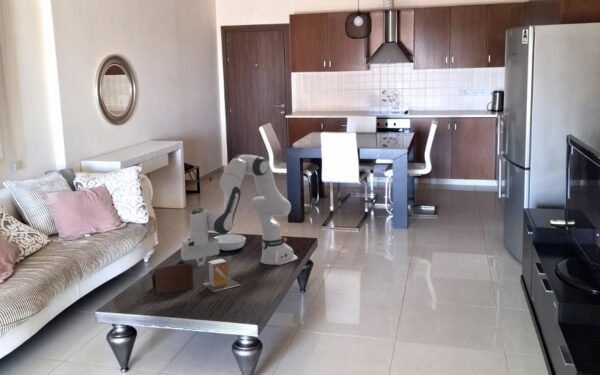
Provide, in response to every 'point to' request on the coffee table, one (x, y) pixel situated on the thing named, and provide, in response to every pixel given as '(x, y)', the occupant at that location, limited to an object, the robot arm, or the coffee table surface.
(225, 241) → the serving bowl
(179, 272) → the letter holder
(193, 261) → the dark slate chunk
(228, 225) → the robot arm
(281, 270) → the coffee table surface
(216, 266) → the small box
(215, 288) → the mat
